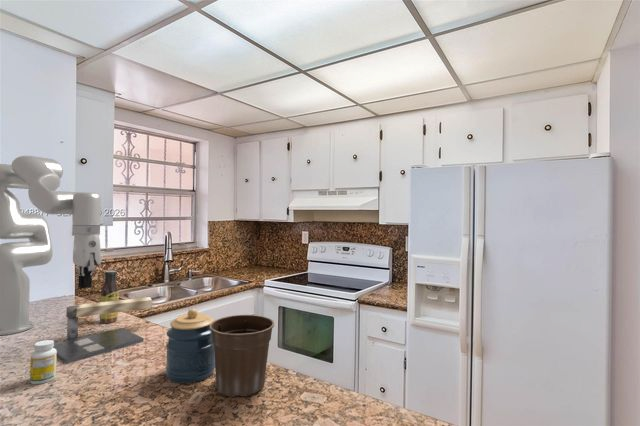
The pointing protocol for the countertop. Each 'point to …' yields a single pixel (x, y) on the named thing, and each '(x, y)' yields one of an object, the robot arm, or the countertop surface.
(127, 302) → the swing arm
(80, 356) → the label board
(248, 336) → the plant pot
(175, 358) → the canister
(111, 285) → the bottle
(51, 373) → the supplement bottle
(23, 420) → the countertop surface
